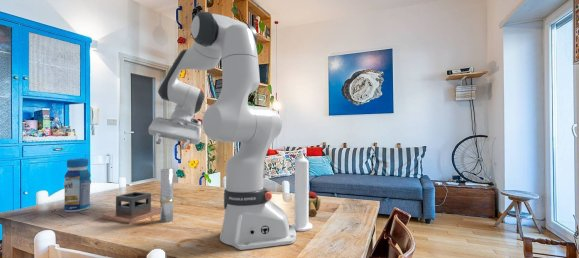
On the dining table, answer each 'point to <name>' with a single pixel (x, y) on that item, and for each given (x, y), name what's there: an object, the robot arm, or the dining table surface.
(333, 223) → the dining table surface
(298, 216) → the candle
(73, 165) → the blue pill bottle
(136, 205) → the collar stand
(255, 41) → the robot arm
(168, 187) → the steel tube
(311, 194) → the kendama
